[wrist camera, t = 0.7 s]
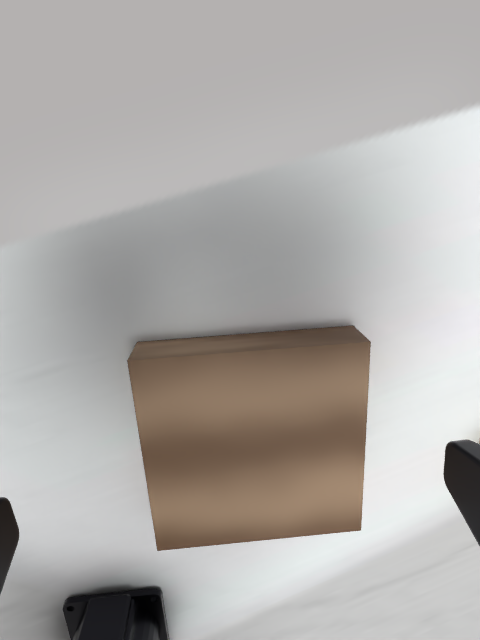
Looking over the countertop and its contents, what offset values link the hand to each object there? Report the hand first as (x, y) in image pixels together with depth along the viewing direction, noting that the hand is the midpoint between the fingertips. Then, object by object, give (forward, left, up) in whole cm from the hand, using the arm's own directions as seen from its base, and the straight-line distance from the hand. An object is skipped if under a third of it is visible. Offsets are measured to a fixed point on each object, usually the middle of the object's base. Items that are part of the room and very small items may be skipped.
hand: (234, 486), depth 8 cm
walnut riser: (-8, -1, -14) cm, 16 cm away
